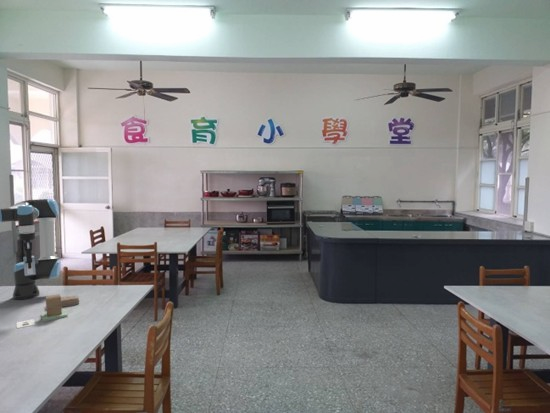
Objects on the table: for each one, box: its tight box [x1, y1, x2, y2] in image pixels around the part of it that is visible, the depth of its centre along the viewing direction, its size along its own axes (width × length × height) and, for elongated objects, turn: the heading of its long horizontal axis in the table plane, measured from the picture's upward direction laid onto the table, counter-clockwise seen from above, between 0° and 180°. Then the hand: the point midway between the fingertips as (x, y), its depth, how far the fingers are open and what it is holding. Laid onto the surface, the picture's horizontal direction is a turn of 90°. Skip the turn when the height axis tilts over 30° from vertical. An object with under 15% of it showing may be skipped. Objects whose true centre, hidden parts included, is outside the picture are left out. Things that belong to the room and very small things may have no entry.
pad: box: [40, 308, 68, 322], centre depth 221 cm, size 12×12×1 cm
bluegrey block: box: [23, 255, 36, 276], centre depth 222 cm, size 5×5×10 cm
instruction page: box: [16, 318, 35, 329], centre depth 210 cm, size 10×8×1 cm
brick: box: [61, 294, 80, 308], centre depth 241 cm, size 17×8×5 cm, turn 121°
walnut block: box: [45, 293, 63, 317], centre depth 221 cm, size 7×7×10 cm
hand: (30, 272), depth 222 cm, fingers closed on bluegrey block, 5 cm apart
